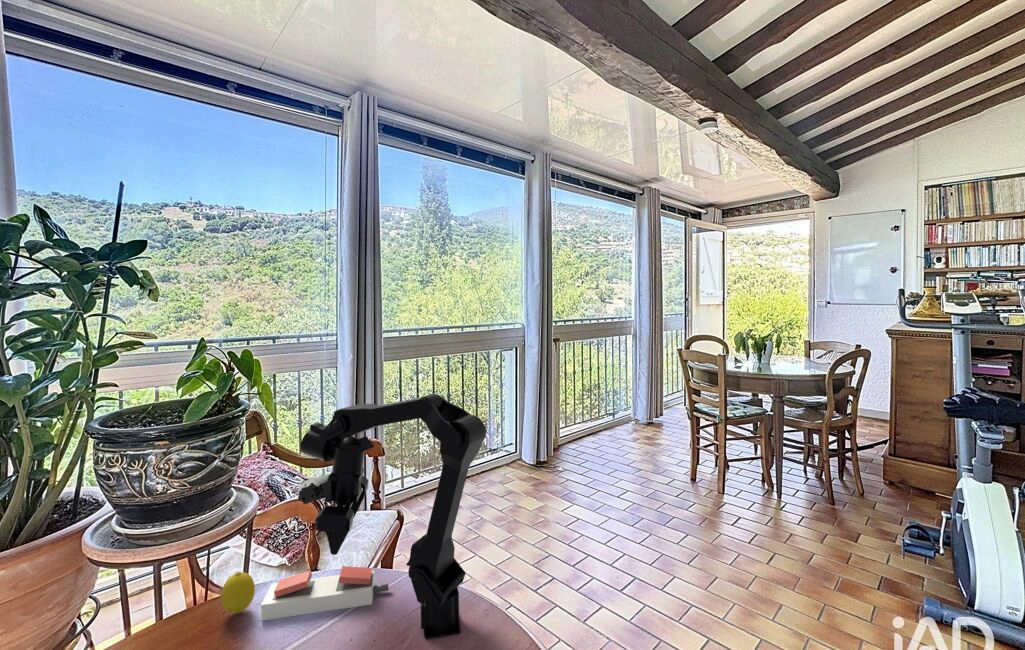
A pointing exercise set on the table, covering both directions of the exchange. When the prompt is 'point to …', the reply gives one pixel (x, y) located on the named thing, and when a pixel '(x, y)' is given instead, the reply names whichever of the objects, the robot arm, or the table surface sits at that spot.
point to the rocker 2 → (355, 575)
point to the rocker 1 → (293, 583)
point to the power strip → (319, 597)
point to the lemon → (238, 592)
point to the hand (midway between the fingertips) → (340, 541)
